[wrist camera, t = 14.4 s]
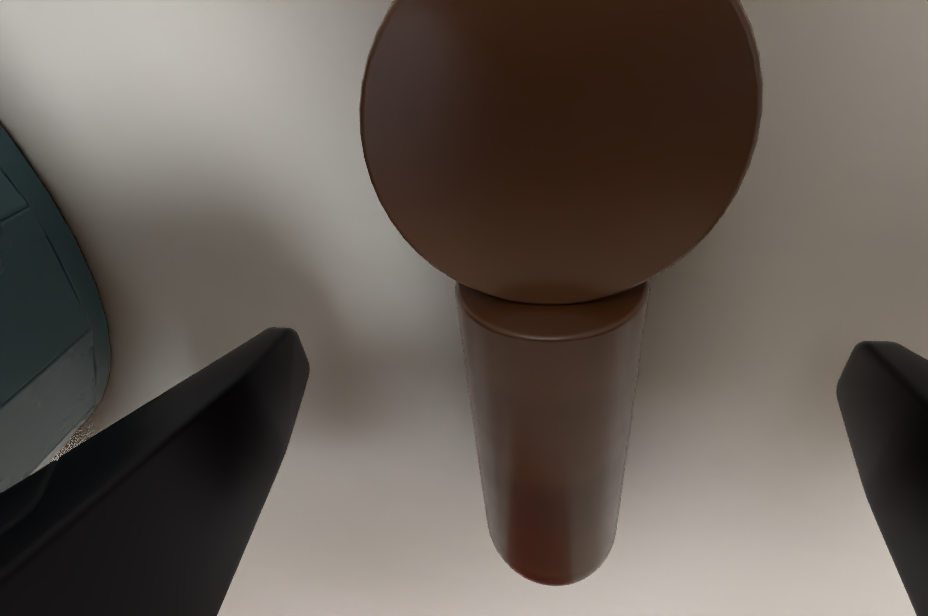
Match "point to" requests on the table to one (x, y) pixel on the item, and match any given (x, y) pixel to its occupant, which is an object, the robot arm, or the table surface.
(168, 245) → the table surface
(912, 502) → the robot arm
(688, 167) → the wooden spoon
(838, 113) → the table surface
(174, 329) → the table surface
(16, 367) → the pot
